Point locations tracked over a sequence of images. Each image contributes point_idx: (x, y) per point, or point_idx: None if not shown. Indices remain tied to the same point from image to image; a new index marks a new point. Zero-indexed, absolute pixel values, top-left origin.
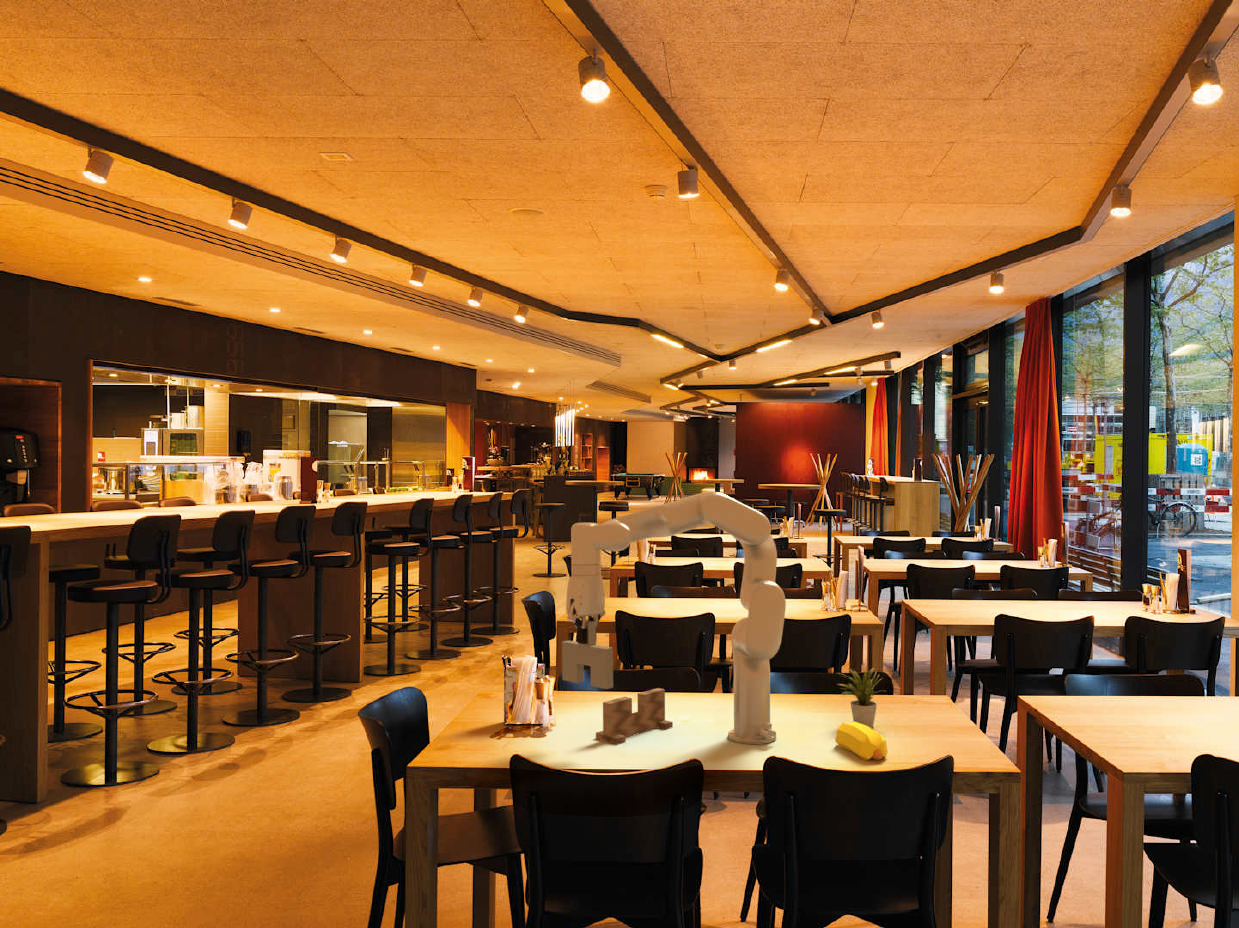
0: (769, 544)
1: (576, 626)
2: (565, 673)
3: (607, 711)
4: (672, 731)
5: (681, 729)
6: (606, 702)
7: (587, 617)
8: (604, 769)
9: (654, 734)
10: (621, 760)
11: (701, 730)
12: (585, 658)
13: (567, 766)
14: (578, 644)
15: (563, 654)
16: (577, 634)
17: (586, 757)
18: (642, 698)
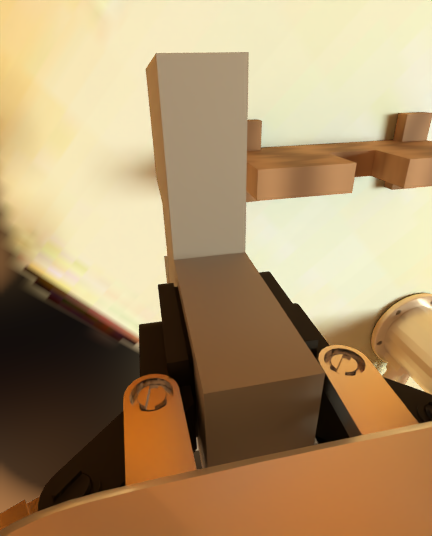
0: None
1: (123, 412)
2: (149, 96)
3: (250, 183)
4: (378, 207)
5: (400, 209)
6: (263, 179)
7: (352, 420)
8: (87, 309)
9: (339, 197)
10: (152, 288)
11: (412, 241)
12: (171, 282)
13: (29, 250)
14: (175, 263)
15: (152, 78)
16: (139, 348)
17: (106, 227)
18: (397, 177)
